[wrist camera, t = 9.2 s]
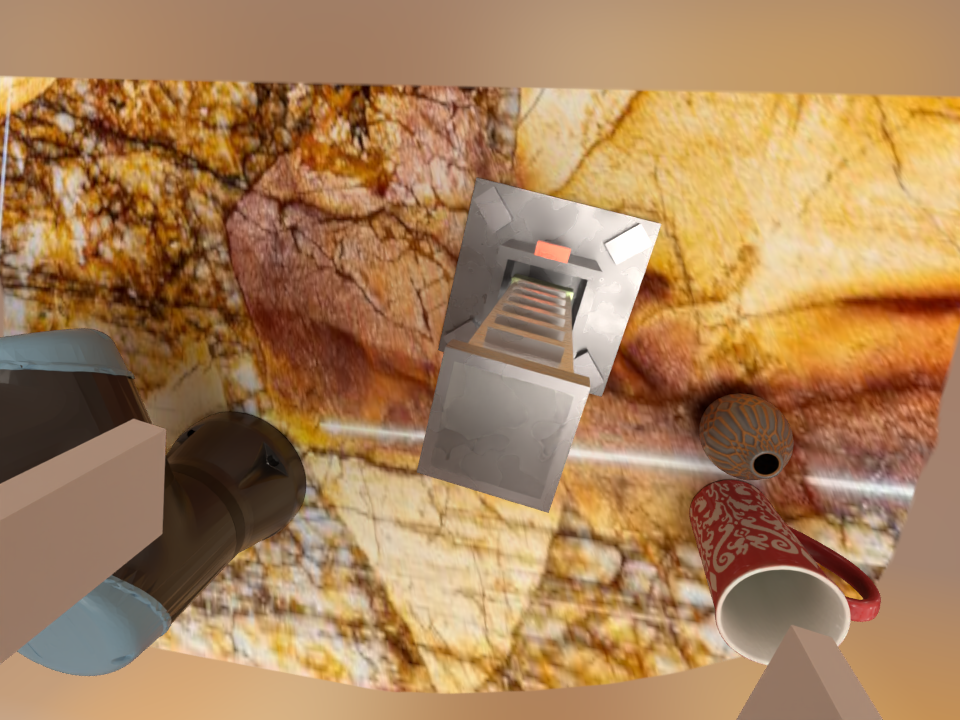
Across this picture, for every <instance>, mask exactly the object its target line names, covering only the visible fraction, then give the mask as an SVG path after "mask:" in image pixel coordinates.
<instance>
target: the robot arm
mask: <svg viewBox="0 0 960 720" xmlns="http://www.w3.org/2000/svg"><path fill="white" fill-rule="evenodd" d="M133 379H135V377H134V374H133V373H132V372H131V371H128V369H127V367H126V365H125V363H124V361H123V359H122V357H121V355H120V353H119V351H118V349H117V347H116V345H115V343H114V341H113V340H112V339H111V338H110V337H109V336H108V335H106V334H104V333H103V332H100V331H98V330H94V329H85V328H81V329H65V330H55V331H46V332H37V333H29V334H21V335H14V336H6V337H0V664H1V663H3V662H4V661H5V660H6V659H7V658H9V657H10V656H11V655H13V654H14V653H15V652H16V651H17V652H19V653H20V654H22V655H24V656H25V657H27V658H29V659H30V660H32V661H34V662H36V663H38V664H41V665H43V666H45V667H47V668H50V669H52V670H55V671H59V672H62V673H66V674H71V675H79V676H97V675H104V674H108V673H111V672H114V671H116V670H119V669H121V668H123V667H125V666H126V665H128V664H129V663H131V662H132V661H133V660H134V659H136V657H138V656H139V655H140V654H141V653H142V652H143V651H144V650H145V649H147V647H149V646H150V645H151V644H152V643H153V642H154V641H155V640H156V639H158V638H159V637H160V636H162V635H163V634H165V633H166V632H167V631H168V629H169V627H170V626H171V624H172V623H173V622H174V621H175V620H176V619H177V617H178V616H179V615H180V614H181V613H182V612H183V611H184V610H185V609H186V608H187V607H188V606H189V605H190V604H191V603H192V601H193V600H194V599H195V598H196V597H197V596H198V595H199V594H200V593H201V592H202V591H203V590H204V589H205V588H206V587H207V586H208V584H209V583H210V582H211V581H212V580H213V579H214V578H215V577H216V576H217V575H218V574H219V573H220V572H221V571H222V570H223V568H224V567H225V566H226V565H227V564H228V563H229V562H230V561H231V560H232V559H233V558H234V557H235V556H236V555H237V554H238V553H239V552H241V551H243V550H245V549H247V548H249V547H250V546H252V545H254V544H256V543H258V542H260V541H262V540H265V539H267V538H269V537H271V536H273V535H275V534H277V533H278V532H279V531H281V530H282V529H283V528H284V527H285V526H286V525H287V524H288V523H289V522H290V520H291V519H292V518H293V517H294V516H295V515H296V514H297V512H298V511H299V509H300V507H301V505H302V503H303V500H304V496H305V489H306V482H305V474H304V470H303V466H302V464H301V461H300V459H299V457H298V455H297V453H296V451H295V450H294V448H293V447H292V445H291V444H290V443H289V442H288V440H287V439H286V438H285V437H284V436H283V435H282V434H281V433H280V432H279V431H278V430H276V429H275V428H274V427H272V426H271V425H269V424H268V423H266V422H264V421H263V420H261V419H259V418H256V417H254V416H251V415H248V414H244V413H238V412H222V413H217V414H213V415H211V416H208V417H206V418H204V419H203V420H201V421H199V422H198V423H196V424H194V425H193V426H191V427H190V428H188V429H187V430H186V431H185V432H184V433H183V434H182V435H181V436H180V437H179V438H178V440H177V441H176V442H175V443H174V445H173V446H172V447H171V449H170V450H169V451H168V453H167V454H166V455H165V447H166V429H165V428H161V427H158V426H155V425H152V423H151V420H150V418H149V416H148V413H147V411H146V409H145V406H144V404H143V402H142V399H141V397H140V395H139V392H138V390H137V388H136V385H135V383H134V381H133ZM737 720H883V719H882V717H881V716H880V714H879V713H878V711H877V709H876V708H875V706H874V704H873V703H872V701H871V700H870V698H869V696H868V695H867V693H866V691H865V690H864V688H863V687H862V685H861V684H860V682H859V680H858V679H857V677H856V675H855V674H854V672H853V670H852V669H851V667H850V666H849V664H848V662H847V661H846V659H845V657H844V656H843V654H842V653H841V651H840V650H839V648H838V646H837V644H836V643H835V641H834V640H833V638H832V637H829V636H826V635H823V634H819V633H816V632H813V631H810V630H807V629H803V628H800V627H797V626H794V625H791V626H790V628H789V629H788V631H787V633H786V635H785V636H784V638H783V640H782V642H781V643H780V645H779V647H778V648H777V650H776V652H775V654H774V655H773V657H772V659H771V661H770V662H769V664H768V666H767V668H766V669H765V671H764V673H763V674H762V676H761V678H760V680H759V681H758V683H757V685H756V687H755V688H754V690H753V692H752V694H751V695H750V697H749V699H748V700H747V702H746V704H745V706H744V707H743V709H742V711H741V713H740V715H739V716H738V718H737Z"/></svg>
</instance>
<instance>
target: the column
mask: <svg viewBox="0 0 960 720" xmlns="http://www.w3.org/2000/svg"><path fill="white" fill-rule="evenodd" d="M572 296H573V289H572V288H569V287H565V286H561V285H557V284H554V283H550V282H546V281H542V280H539V279H535V278H531V277H527V276H524V275H520V274H515V275H514V276H513V279H512V283H511V285H510V286H509V288H508V289H507V291H506V292H505V293H504V295H503V296H502V297H501V299H500V300H499V301H498V303H497V304H496V305H495V307H494V308H493V310H492V311H491V312H490V314H489V315H488V316H487V318H486V319H485V320H484V322H483V323H482V325H481V326H480V327H479V329H478V330H477V331H476V333H475V334H474V335H473V337H472V338H471V339H470V341H469V342H468V343H465V342H462V341H458V340H455V339H451V341H450V342H449V343H448V344H447V345H446V346H445V350H444V355H443V359H442V363H441V368H440V372H439V377H438V381H437V386H436V390H435V394H434V399H433V403H432V408H431V412H430V416H429V421H428V425H427V430H426V434H425V438H424V443H423V447H422V452H421V456H420V460H419V465H418V469H417V472H418V473H421V474H424V475H427V476H431V477H434V478H437V479H440V480H444V481H447V482H450V483H453V484H457V485H460V486H463V487H466V488H470V489H473V490H476V491H479V492H483V493H486V494H489V495H492V496H496V497H499V498H502V499H505V500H509V501H512V502H515V503H518V504H522V505H525V506H528V507H531V508H535V509H538V510H541V511H544V512H548V513H549V510H550V507H551V504H552V501H553V498H554V495H555V492H556V489H557V486H558V483H559V480H560V477H561V474H562V471H563V468H564V465H565V462H566V459H567V456H568V453H569V450H570V447H571V444H572V442H573V439H574V436H575V433H576V430H577V427H578V424H579V421H580V418H581V415H582V412H583V409H584V406H585V403H586V400H587V397H588V394H589V391H590V388H591V386H590V379H589V377H586V376H582V375H579V374H575V373H574V368H573V342H572V316H571V300H572Z"/></svg>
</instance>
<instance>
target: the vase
mask: <svg viewBox="0 0 960 720" xmlns="http://www.w3.org/2000/svg"><path fill="white" fill-rule="evenodd" d="M699 436H700V441H701V444H702V447H703V449H704V451H705V453H706V455H707V456H708V458H709V459H710V460H711V461H712V462H713V463H714V464H715V465H716V466H717V467H718V468H719V469H721V470H722V471H724V472H725V473H727V474H729V475H731V476H734V477H736V478H740V479H745V480H760V479H767V478H772V477H775V476H776V475H778V474H779V473H780V472H781V471H782V469H783V468H784V467H785V465H786V464H787V463H788V461H789V459H790V457H791V455H792V451H793V435H792V431H791V428H790V425H789V423H788V421H787V420H786V418H785V417H784V415H783V414H782V413H781V412H780V411H779V410H778V409H777V408H776V407H775V406H774V405H772V404H771V403H769V402H768V401H766V400H764V399H762V398H760V397H757V396H754V395H750V394H741V393H739V394H730V395H726V396H723V397H721V398H719V399H717V400H715V401H714V402H713V403H711V404H710V405H709V406H708V408H707V409H706V410H705V412H704V413H703V415H702V418H701V421H700V426H699Z"/></svg>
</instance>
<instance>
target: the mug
mask: <svg viewBox="0 0 960 720" xmlns="http://www.w3.org/2000/svg"><path fill="white" fill-rule="evenodd" d="M690 521H691V524H692V529H693V532H694V534H695V538H696V542H697V547H698V550H699V554H700V557H701V560H702V564H703V567H704V571H705V575H706V578H707V582H708V586H709V589H710V593H711V597H712V600H713V603H714V607H715V620H716V625H717V628H718V630H719V633H720V634H721V636H722V638H723V639H724V641H725V642H726V643H727V644H728V645H729V646H730V647H731V648H732V649H733V650H734V651H735V652H737V653H738V654H740V655H741V656H743V657H745V658H747V659H749V660H751V661H754V662H757V663H760V664H764V665H768V664H769V662H770V661H771V659H772V657H773V655H774V654H775V652H776V650H777V648H778V647H779V645H780V643H781V642H782V640H783V638H784V636H785V635H786V633H787V631H788V629H789V628H790V626H791V625H794V626H797V627H800V628H803V629H807V630H810V631H813V632H816V633H819V634H823V635H826V636H829V637H832V638H833V640H834V641H835V643H836V644H837V646H839V645H840V644H841V643H842V641H843V640H844V639H845V637H846V635H847V633H848V631H849V626H850V621H851V620H852V621H860V622H863V621H870V620H872V619H874V618H875V617H876V615H877V614H878V612H879V609H880V602H881V598H880V593H879V591H878V589H877V588H876V586H875V585H874V583H873V582H872V581H871V579H870V578H869V577H868V576H867V575H866V574H865V573H864V572H863V571H861V570H860V569H859V568H858V567H857V566H855V565H854V564H853V563H851V562H850V561H849V560H847V559H846V558H844V557H843V556H841V555H840V554H838V553H836V552H835V551H833V550H831V549H830V548H828V547H826V546H825V545H823V544H821V543H819V542H818V541H816V540H814V539H812V538H810V537H808V536H806V535H805V534H803V533H801V532H799V531H797V530H795V529H793V528H790V527H788V526H787V525H786V523H785V522H784V521H783V519H782V518H781V517H780V516H779V514H778V513H777V512H776V511H775V509H774V508H773V507H772V505H771V504H770V502H769V501H768V500H767V498H766V497H765V496H764V495H763V494H762V492H760V491H759V490H758V489H757V488H755V487H754V486H752V485H750V484H748V483H745V482H742V481H737V480H724V481H718V482H715V483H712V484H710V485H708V486H706V487H704V488H703V489H702V490H701V491H700V492H699V493H698V494H697V495H696V496H695V497H694V499H693V501H692V503H691V506H690ZM815 561H816V562H817V563H819V564H821V565H822V566H824V567H825V568H827V569H829V570H830V571H832V572H833V573H835V574H836V575H838V576H839V577H841V578H842V579H843V580H845V581H846V582H847V583H848V584H850V585H851V586H852V587H853V588H854V589H855V590H856V591H857V592H858V593H859V594H860V595H861V596H862V597H863V600H858V599H853V598H849V597H846V596H845V595H844V594H843V592H842V591H841V590H840V588H839V587H838V586H837V585H836V584H835V583H834V582H833V581H832V580H830V579H829V578H828V577H827V576H826V575H825V574H824V572H823V571H822V570H821V568H820V567H819V566H818V564H817V563H816V562H815Z"/></svg>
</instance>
